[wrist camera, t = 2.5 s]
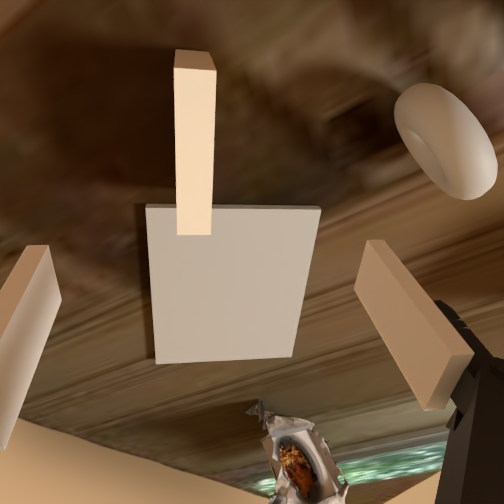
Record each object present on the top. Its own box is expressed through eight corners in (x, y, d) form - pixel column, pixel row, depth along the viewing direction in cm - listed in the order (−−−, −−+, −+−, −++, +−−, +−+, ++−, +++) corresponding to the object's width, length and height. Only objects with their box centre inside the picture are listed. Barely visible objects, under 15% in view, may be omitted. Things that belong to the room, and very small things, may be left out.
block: (175, 49, 29) (173, 67, 22) (208, 51, 29) (216, 70, 23) (178, 188, 35) (177, 235, 28) (205, 188, 35) (210, 235, 29)
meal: (241, 414, 54) (255, 519, 44) (262, 397, 53) (283, 501, 42) (311, 445, 62) (338, 542, 51) (332, 431, 60) (364, 528, 49)
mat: (146, 203, 35) (145, 207, 35) (318, 205, 38) (321, 209, 37) (156, 358, 46) (156, 364, 45) (289, 351, 49) (291, 356, 48)
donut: (368, 90, 33) (431, 126, 24) (405, 62, 32) (483, 88, 24) (416, 176, 38) (481, 230, 30) (449, 154, 37) (526, 202, 29)
